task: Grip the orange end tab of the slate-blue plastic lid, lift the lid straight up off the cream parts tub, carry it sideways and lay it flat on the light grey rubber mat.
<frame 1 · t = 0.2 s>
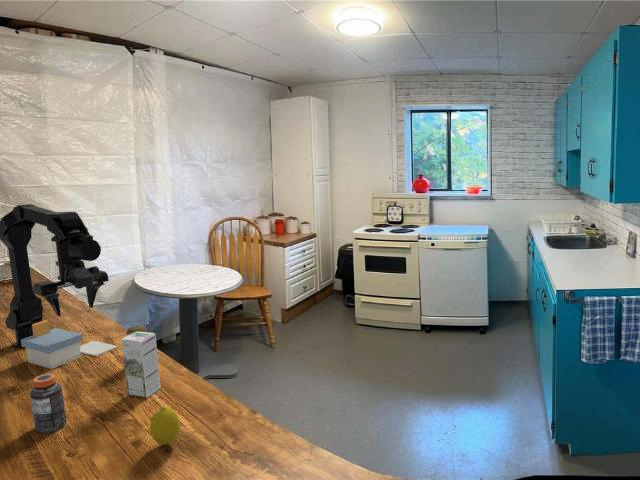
hand: (75, 311, 140), 14 cm above the table, tool pointing down, fingers open, 9 cm apart
syrup box: (144, 392, 120), on the table
pill bottle: (51, 427, 106), on the table
lid: (52, 339, 141), point 6 cm above the table, touching parts tub
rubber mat: (95, 348, 149), on the table
lemon: (167, 445, 98), on the table
cork: (140, 365, 137), on the table
parts tub: (54, 359, 142), on the table
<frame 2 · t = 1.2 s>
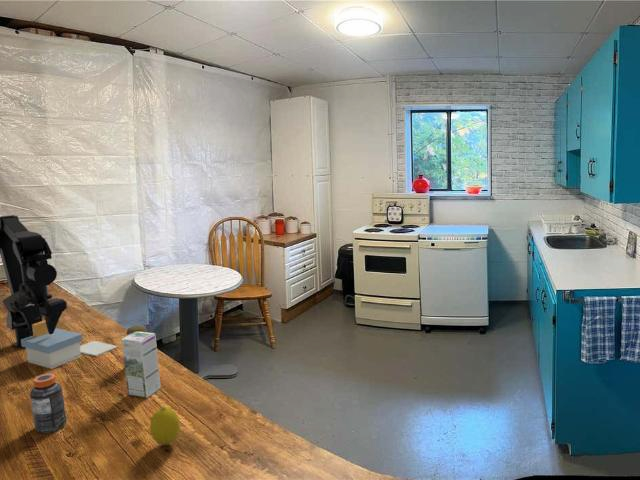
hand: (41, 331, 143), 8 cm above the table, tool pointing down, fingers open, 9 cm apart
nothing on the table moved.
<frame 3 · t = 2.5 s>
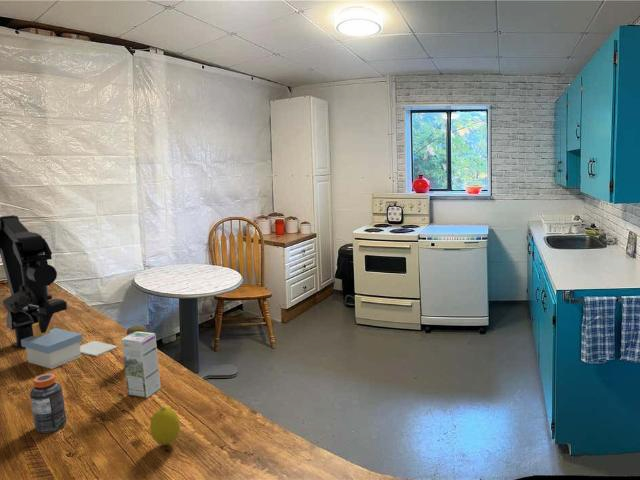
hand: (41, 332, 143), 8 cm above the table, tool pointing down, fingers closed on lid
lid: (52, 339, 141), point 6 cm above the table, touching gripper, parts tub
everything else where it was.
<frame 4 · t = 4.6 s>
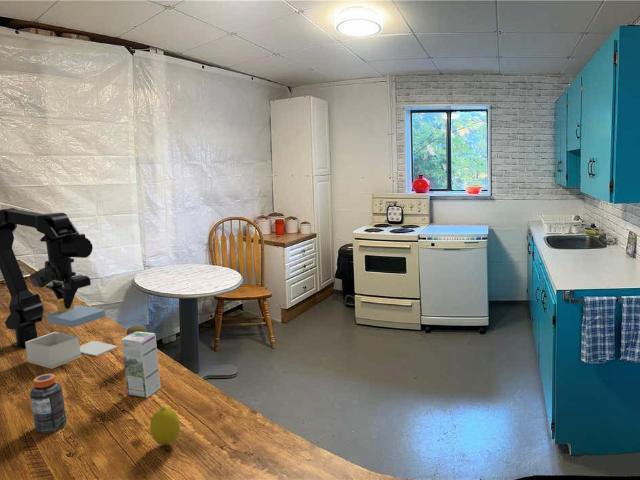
hand: (66, 308, 146), 13 cm above the table, tool pointing down, fingers closed on lid
lid: (75, 315, 144), point 12 cm above the table, touching gripper
everything else where it was.
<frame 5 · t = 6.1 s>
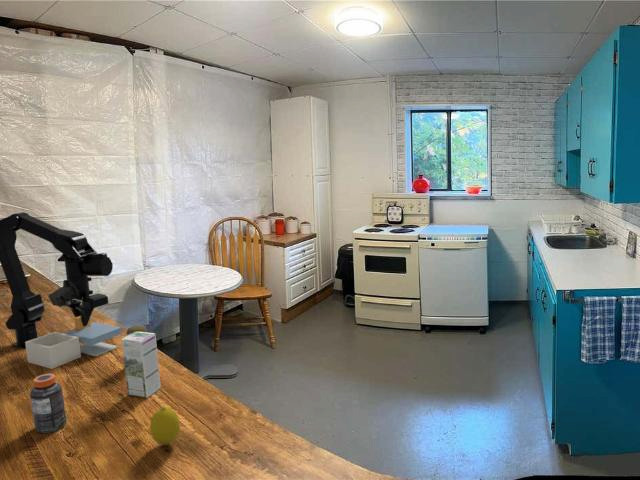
hand: (83, 325, 150), 7 cm above the table, tool pointing down, fingers closed on lid
lid: (93, 332, 148), point 5 cm above the table, touching gripper
everything else where it was.
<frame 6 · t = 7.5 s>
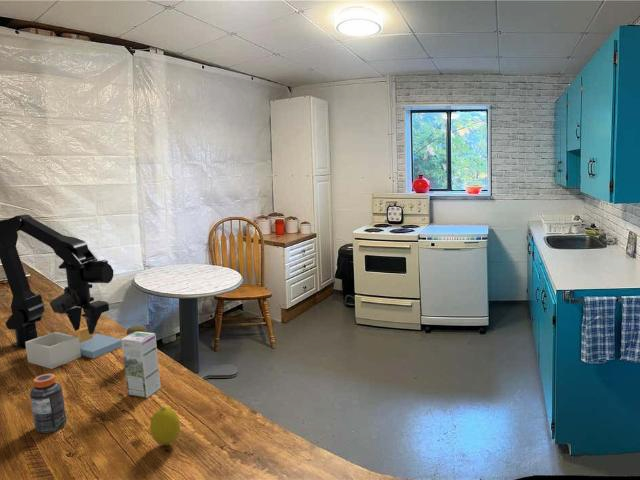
hand: (84, 332, 151), 5 cm above the table, tool pointing down, fingers open, 6 cm apart
lid: (95, 344, 149), point 1 cm above the table
everything else where it was.
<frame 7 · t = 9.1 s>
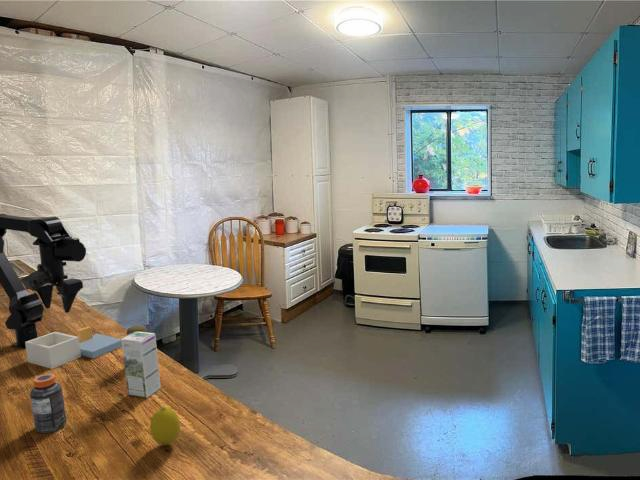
hand: (57, 310, 149), 12 cm above the table, tool pointing down, fingers open, 9 cm apart
nothing on the table moved.
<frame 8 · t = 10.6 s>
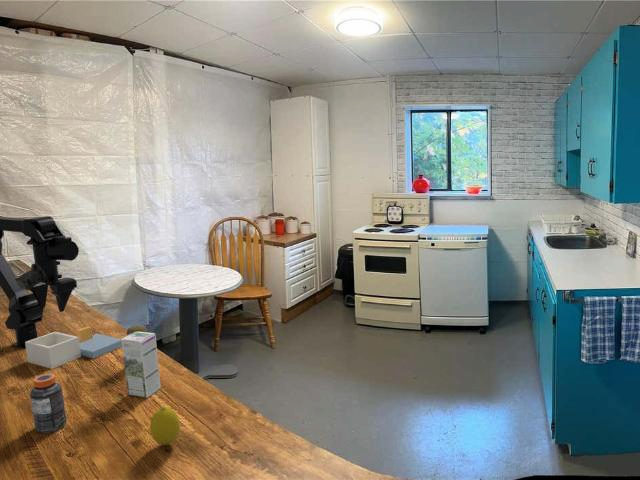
hand: (52, 309, 149), 12 cm above the table, tool pointing down, fingers open, 9 cm apart
nothing on the table moved.
at the end: lid inside the target area (0.3 cm from its centre), point 1.2 cm above the table; lid tilted 0°; the gripper is holding nothing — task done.
